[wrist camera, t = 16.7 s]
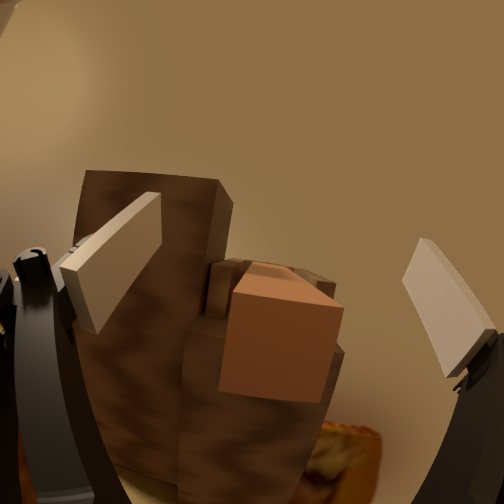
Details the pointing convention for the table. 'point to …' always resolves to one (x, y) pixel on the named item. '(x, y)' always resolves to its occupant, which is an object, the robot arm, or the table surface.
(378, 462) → the table surface
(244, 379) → the block
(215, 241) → the brown stepped wooden block
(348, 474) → the table surface
